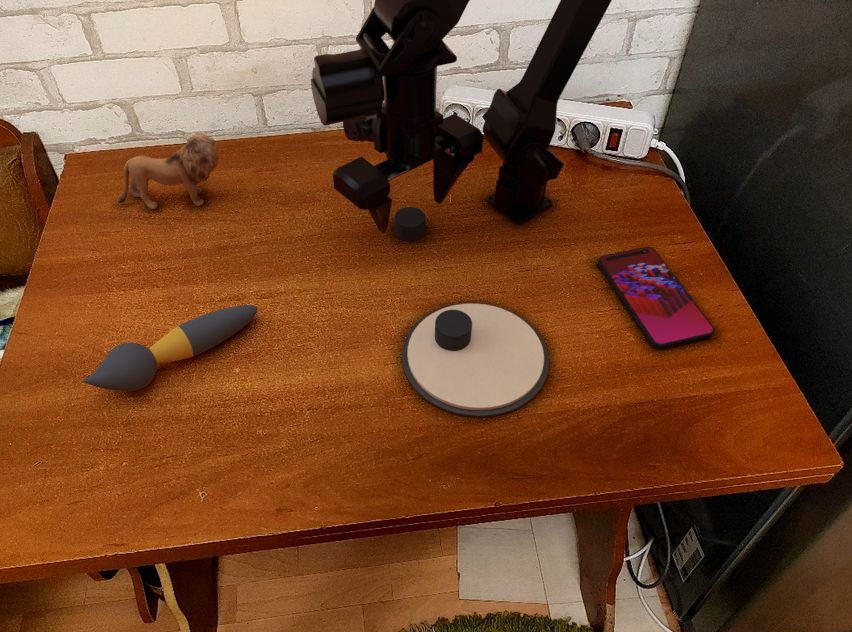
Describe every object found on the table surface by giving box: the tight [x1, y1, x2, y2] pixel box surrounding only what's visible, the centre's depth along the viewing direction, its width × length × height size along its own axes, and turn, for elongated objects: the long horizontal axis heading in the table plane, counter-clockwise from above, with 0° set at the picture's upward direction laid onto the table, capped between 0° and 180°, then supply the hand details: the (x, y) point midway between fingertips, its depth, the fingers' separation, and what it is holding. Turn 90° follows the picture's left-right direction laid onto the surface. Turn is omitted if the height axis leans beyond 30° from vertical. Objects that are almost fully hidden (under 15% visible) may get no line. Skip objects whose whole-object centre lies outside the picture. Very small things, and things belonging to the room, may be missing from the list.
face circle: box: [401, 302, 550, 418], centre depth 75 cm, size 16×16×1 cm
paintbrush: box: [81, 304, 259, 392], centre depth 74 cm, size 20×5×5 cm, turn 134°
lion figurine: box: [117, 132, 220, 210], centre depth 90 cm, size 15×5×9 cm, turn 103°
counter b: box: [393, 206, 427, 242], centre depth 88 cm, size 4×4×2 cm
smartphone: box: [597, 246, 716, 350], centre depth 80 cm, size 8×1×15 cm
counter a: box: [435, 310, 472, 351], centre depth 75 cm, size 4×4×2 cm
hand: (410, 216), depth 87 cm, fingers open, 9 cm apart
